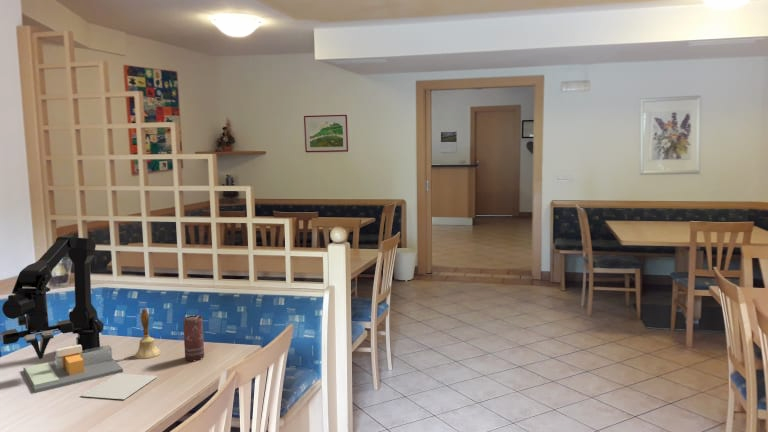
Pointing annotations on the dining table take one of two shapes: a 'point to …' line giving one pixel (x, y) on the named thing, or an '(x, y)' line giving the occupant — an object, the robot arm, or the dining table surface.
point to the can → (193, 337)
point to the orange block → (73, 364)
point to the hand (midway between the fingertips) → (40, 358)
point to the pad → (41, 374)
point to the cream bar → (68, 350)
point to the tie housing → (89, 357)
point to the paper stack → (119, 386)
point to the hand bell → (146, 340)
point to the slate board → (78, 375)
